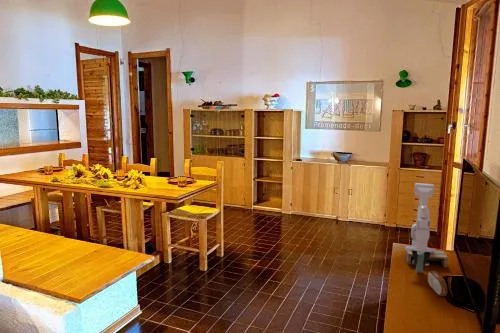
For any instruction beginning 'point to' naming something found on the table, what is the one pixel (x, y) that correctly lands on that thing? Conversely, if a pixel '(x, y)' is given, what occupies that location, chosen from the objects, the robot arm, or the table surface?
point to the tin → (437, 283)
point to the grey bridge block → (433, 257)
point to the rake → (419, 262)
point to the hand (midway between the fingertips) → (419, 264)
